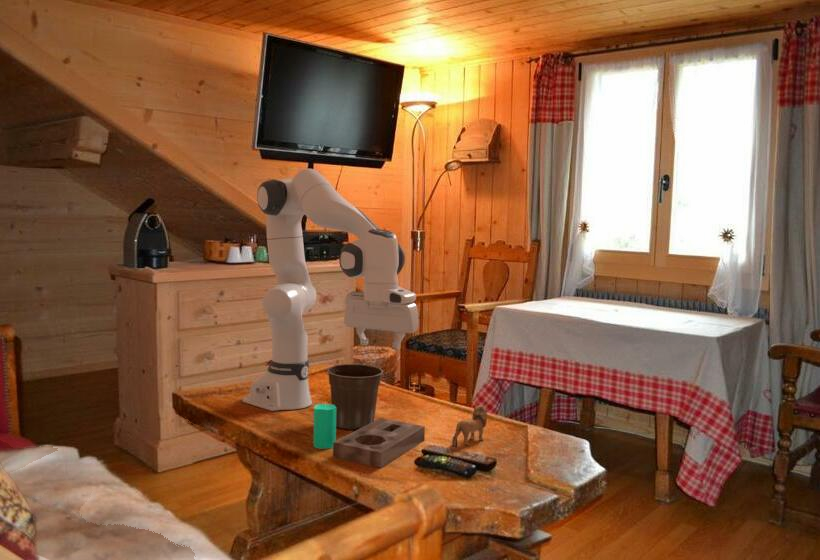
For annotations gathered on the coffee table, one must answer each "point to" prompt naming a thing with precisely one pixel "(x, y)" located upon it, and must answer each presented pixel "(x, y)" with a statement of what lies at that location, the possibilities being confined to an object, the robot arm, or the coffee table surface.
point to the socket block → (378, 442)
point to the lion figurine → (471, 425)
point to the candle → (324, 426)
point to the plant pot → (354, 394)
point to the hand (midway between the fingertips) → (380, 347)
